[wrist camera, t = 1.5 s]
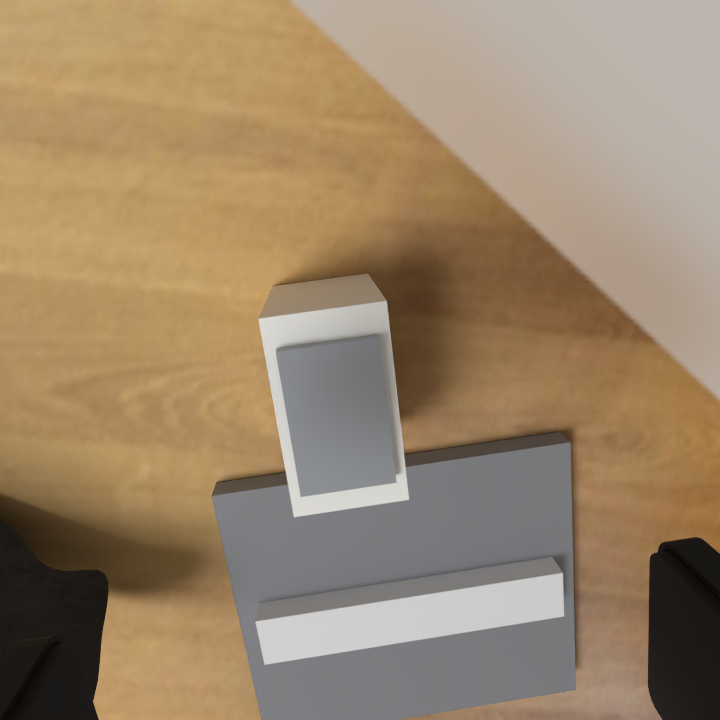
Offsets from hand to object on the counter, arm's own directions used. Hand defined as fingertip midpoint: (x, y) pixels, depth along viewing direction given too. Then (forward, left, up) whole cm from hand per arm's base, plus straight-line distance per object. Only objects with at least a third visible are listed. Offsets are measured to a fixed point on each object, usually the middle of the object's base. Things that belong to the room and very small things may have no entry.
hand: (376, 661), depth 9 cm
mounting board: (+12, +2, -17) cm, 20 cm away
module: (0, 0, -17) cm, 17 cm away
